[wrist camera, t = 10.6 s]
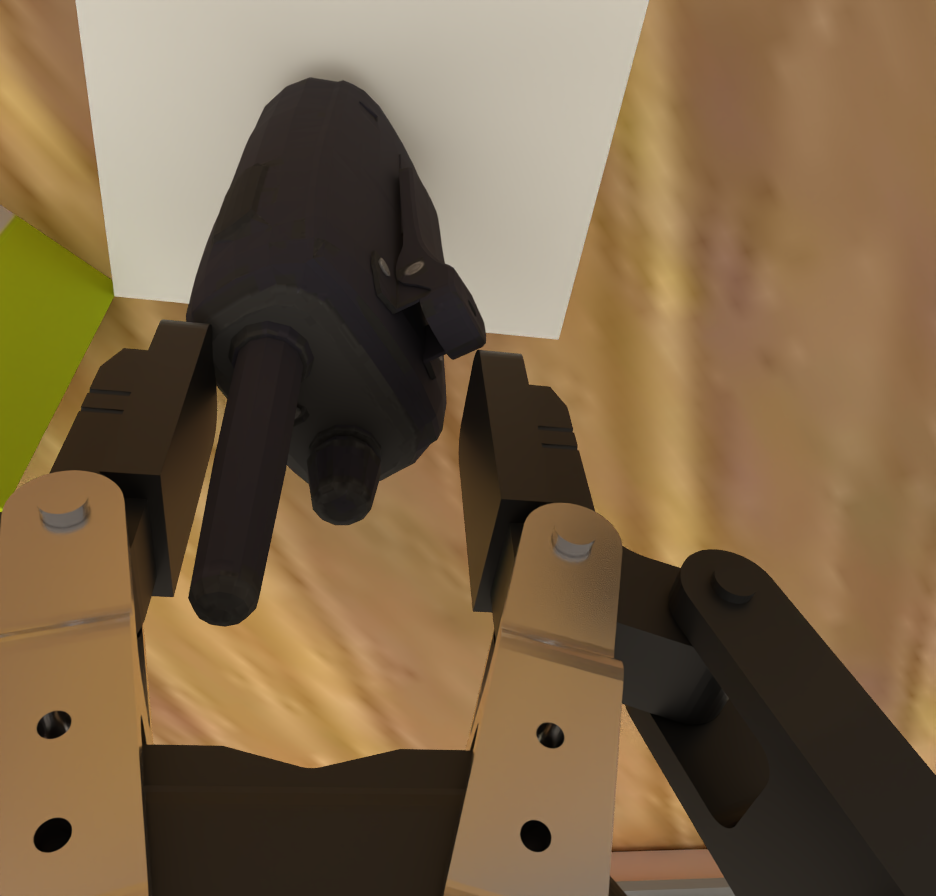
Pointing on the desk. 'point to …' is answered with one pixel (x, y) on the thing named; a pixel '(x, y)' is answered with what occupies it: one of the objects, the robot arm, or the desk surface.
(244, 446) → the two-way radio
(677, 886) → the desk lamp
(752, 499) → the desk surface
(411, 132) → the mat
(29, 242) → the puzzle toy
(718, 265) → the desk surface
